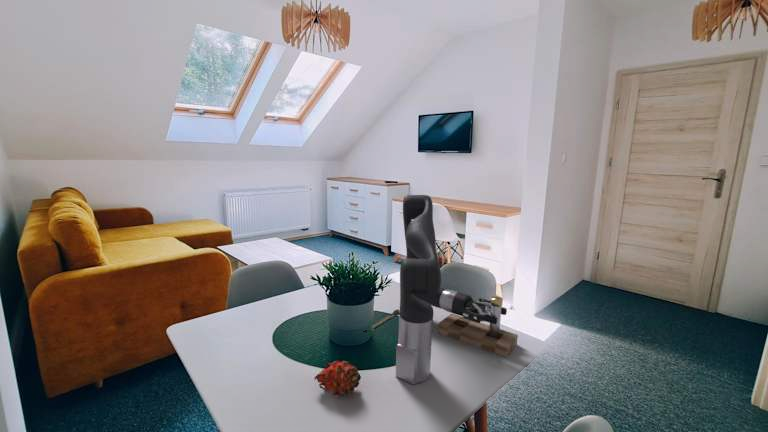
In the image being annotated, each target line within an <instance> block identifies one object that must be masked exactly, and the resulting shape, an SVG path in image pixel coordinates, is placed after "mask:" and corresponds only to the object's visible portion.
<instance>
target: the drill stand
mask: <svg viewBox="0 0 768 432" xmlns="http://www.w3.org/2000/svg"><path fill="white" fill-rule="evenodd" d="M489 326H490V324H486V323H484V322H480V323H477V322H474V321H471V320H468V319H465V318H463V316H460V315H457V314H454V313H450V314H449V315H447V316H445V318H443V319H442V320H441V321H439V322H438V324H437V333H438V334H441V335H444V336H446V337H449V338H452V339H454V340H457V341H460V342H463V343H466V344H468V345H471V346H473V347H476V348H479V349H482V350H485V351H487V352H490V353H492V354H495V355H499V356H501V357H504V358H506V359H508V357H509V356H510V354H511V353H512V352H513V350H514V349H515V348H516V346H517V345H518V337H519V336H518V334H517V333H513V332H511V331H507V330H504V329H501V328H500V331H499V340H498V339H495V338H492V337H489Z"/></svg>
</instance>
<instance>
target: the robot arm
mask: <svg viewBox="0 0 768 432" xmlns="http://www.w3.org/2000/svg"><path fill="white" fill-rule="evenodd" d="M433 207H434V205H433V200H432V198H431V196H429V195H428V194H427V195H426V194H406V195H405V196H404V198H403V200H402V215H403V217H402V220H403V227H404V229H403V230H404V239H405V247H406V258H404V259H403V260H402V261H401V263H400V267H399V287H400V290H399V291H400V292H399V294H400V295H399V313H398V314H399V315H398V340H397V341H398V343H397V344H396V353H395V354H396V355H395V357H396V358H395V359H396V360H395V377H397V378H399V379H401V380H403V381H405V382H407V383H409V384H411V385H416V384H418V383H423V382H426V381H427V380H428V379H429V378H430V375H431V364H432V363H431V360H432V359H431V358H432V341H433V325H434V324H433V323H434V308H435V307H436V308H438V309H440V310H443V311H446V312H448V313H450V314H455V315H458V316H461V317H463V318H465V319H468V320H471V321H474V322H477V323H485V322H487V323H489V324H490V323H492V324H497V320H498V318H497V317H495V316H492V315H490V314H488V313H489V312H490V313H491V299H490V300H489V299H485V298H479V297H478V300H473V297H472V296H471V295H470V294H466V293H463V292H459V291H456V290H451V289H447V288H442V287H441V283H442V273H441V266H440V261H439V257H438V253H437V246H436V245H437V244H436V243H437V242H436V241H437V240H436V230H435V226H434V221H433V219H434V217H433V216H434V215H433V214H434V212H433V210H434V208H433ZM507 311H508V310H507V308H506V307H503V306H501V315H503V316H505V315H507Z"/></svg>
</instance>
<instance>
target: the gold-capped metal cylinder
mask: <svg viewBox="0 0 768 432" xmlns="http://www.w3.org/2000/svg"><path fill="white" fill-rule="evenodd" d="M503 300H504V298H502V297H501V296H496V295H494V296H491V297H490V301H491V303H490V304H491V312H490V314H489V315H492V316H495V317H497V318H498V320H497V324H492V323H489V337H492V338H495V339H498V340H499V331H500V329H501V328H500V327H501V317H502V316H501V315H502V314H501V307H503Z"/></svg>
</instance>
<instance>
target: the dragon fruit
mask: <svg viewBox="0 0 768 432" xmlns="http://www.w3.org/2000/svg"><path fill="white" fill-rule="evenodd" d="M361 379H362V377H361V374H360V373H359V369H358V368H357V367H355V365H353V364H352V365H351V362H349V361H346V360H341V361H340V360H335V361H334V360H333V362H330V363H327V364H326V366H325V368H324V369H322V370H321V371H320V372H319V373H317V375H315V377H314V381H316V380H317V382H318V386H319V388H320V389H322V390H323V392H324V394H326V393H328V392H329V391H333V396H334V397H338V396H340V395H341V394H342V395H345V394H348V393H349V392H354V391H355V388H358V387H359V385H360V380H361Z"/></svg>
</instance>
